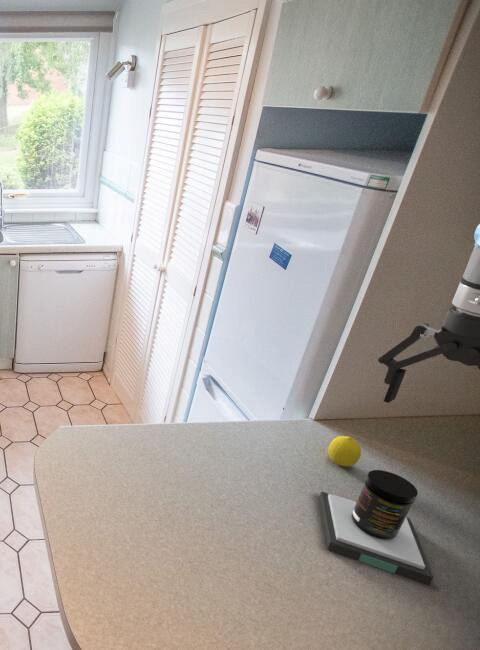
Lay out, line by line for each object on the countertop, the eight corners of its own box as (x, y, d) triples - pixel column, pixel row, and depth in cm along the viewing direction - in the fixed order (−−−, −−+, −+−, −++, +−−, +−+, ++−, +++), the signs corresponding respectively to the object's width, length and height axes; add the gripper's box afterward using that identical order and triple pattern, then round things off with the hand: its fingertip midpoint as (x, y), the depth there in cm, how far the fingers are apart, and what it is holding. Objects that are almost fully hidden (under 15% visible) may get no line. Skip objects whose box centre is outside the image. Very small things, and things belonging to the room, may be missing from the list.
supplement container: (406, 544, 81) (428, 500, 77) (363, 538, 82) (382, 495, 78) (381, 514, 87) (401, 472, 83) (342, 509, 88) (359, 467, 84)
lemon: (350, 477, 100) (362, 448, 97) (320, 464, 104) (331, 436, 101) (357, 466, 103) (368, 438, 100) (328, 453, 107) (338, 426, 104)
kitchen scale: (405, 527, 88) (411, 515, 87) (428, 587, 77) (435, 574, 76) (317, 500, 94) (322, 488, 93) (326, 551, 83) (331, 539, 82)
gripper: (379, 293, 83) (345, 391, 91) (598, 347, 62) (529, 467, 71) (398, 285, 86) (364, 381, 94) (613, 334, 66) (545, 451, 74)
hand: (435, 418), depth 82 cm, fingers open, 13 cm apart
